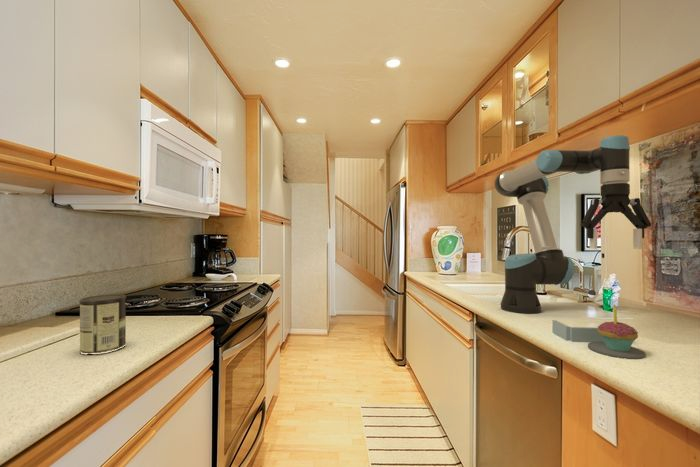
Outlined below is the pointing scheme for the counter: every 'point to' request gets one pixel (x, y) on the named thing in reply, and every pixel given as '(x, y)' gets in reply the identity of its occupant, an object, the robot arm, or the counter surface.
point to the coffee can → (102, 323)
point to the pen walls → (576, 333)
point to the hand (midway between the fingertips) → (615, 248)
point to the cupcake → (617, 334)
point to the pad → (602, 349)
